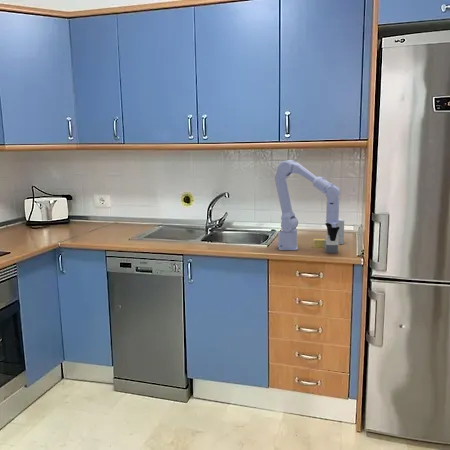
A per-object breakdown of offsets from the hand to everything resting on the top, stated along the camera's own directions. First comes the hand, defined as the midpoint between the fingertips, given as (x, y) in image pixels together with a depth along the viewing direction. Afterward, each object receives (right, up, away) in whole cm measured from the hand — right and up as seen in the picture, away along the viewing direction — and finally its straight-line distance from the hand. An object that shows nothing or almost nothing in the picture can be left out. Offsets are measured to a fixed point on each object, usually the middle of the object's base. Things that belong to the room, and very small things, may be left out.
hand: (331, 239), depth 225 cm
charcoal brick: (0, -6, +1) cm, 6 cm away
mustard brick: (-4, -4, +12) cm, 13 cm away
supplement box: (+6, -3, +19) cm, 21 cm away
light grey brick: (0, -2, 0) cm, 3 cm away
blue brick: (+1, -5, +9) cm, 10 cm away
